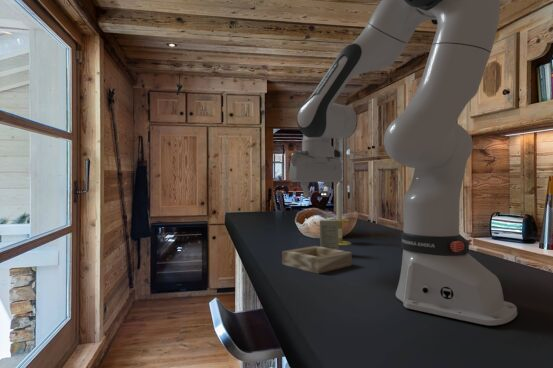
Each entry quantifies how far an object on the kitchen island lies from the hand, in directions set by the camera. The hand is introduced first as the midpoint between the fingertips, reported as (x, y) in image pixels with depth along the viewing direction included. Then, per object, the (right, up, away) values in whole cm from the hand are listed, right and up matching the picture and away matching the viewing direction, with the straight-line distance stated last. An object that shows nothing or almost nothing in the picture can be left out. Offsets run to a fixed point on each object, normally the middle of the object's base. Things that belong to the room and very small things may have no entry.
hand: (316, 197), depth 108 cm
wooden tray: (0, -21, 0) cm, 21 cm away
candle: (+14, -21, +38) cm, 45 cm away
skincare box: (+6, -21, +16) cm, 27 cm away
